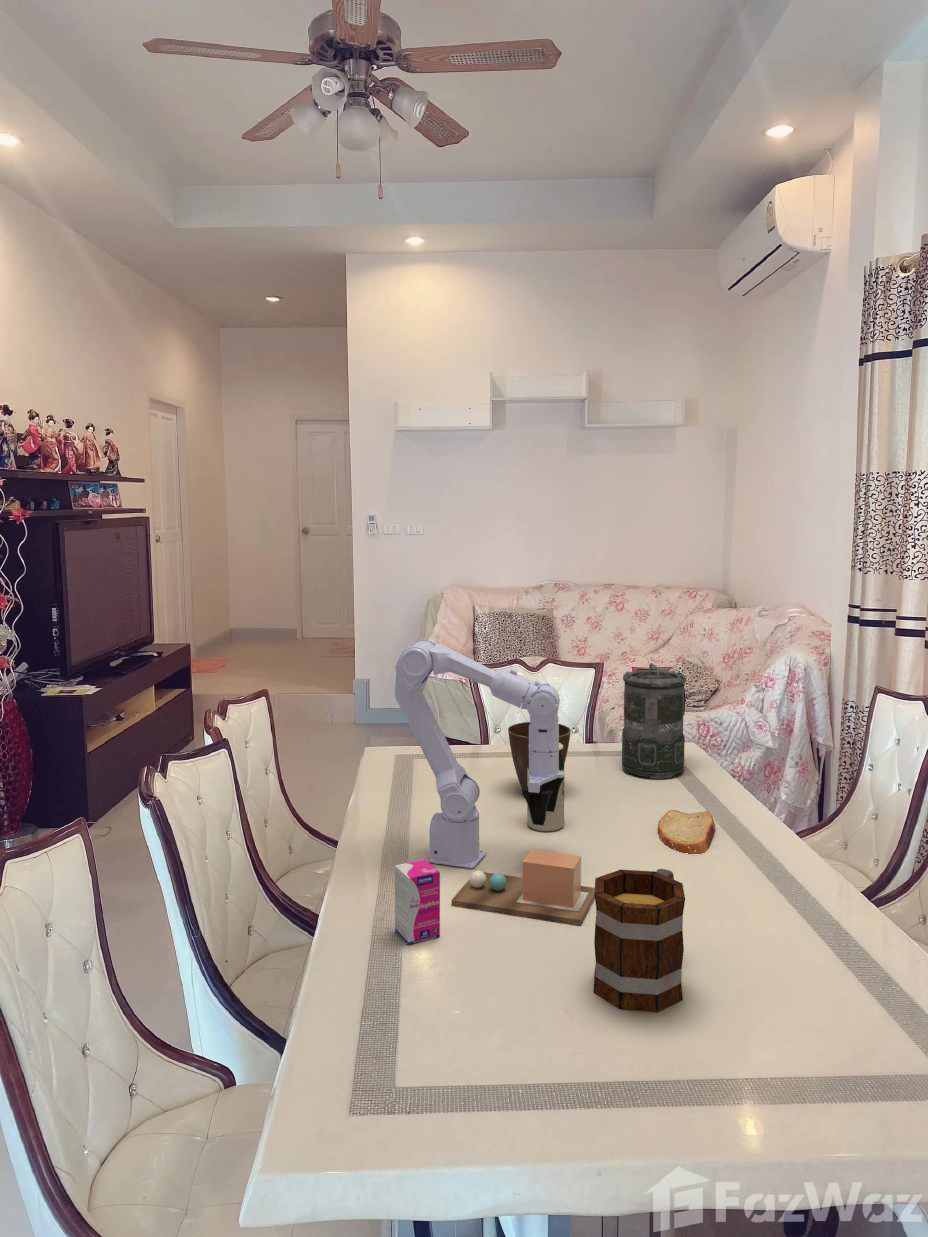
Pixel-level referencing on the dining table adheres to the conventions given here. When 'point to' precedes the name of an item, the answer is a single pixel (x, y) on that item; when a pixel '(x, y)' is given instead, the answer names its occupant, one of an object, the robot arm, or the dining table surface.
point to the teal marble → (497, 882)
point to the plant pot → (521, 749)
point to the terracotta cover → (552, 878)
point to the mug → (639, 939)
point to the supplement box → (417, 901)
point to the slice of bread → (686, 831)
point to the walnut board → (522, 902)
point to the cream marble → (477, 879)
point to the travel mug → (557, 817)
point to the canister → (653, 723)
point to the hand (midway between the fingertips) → (543, 817)
